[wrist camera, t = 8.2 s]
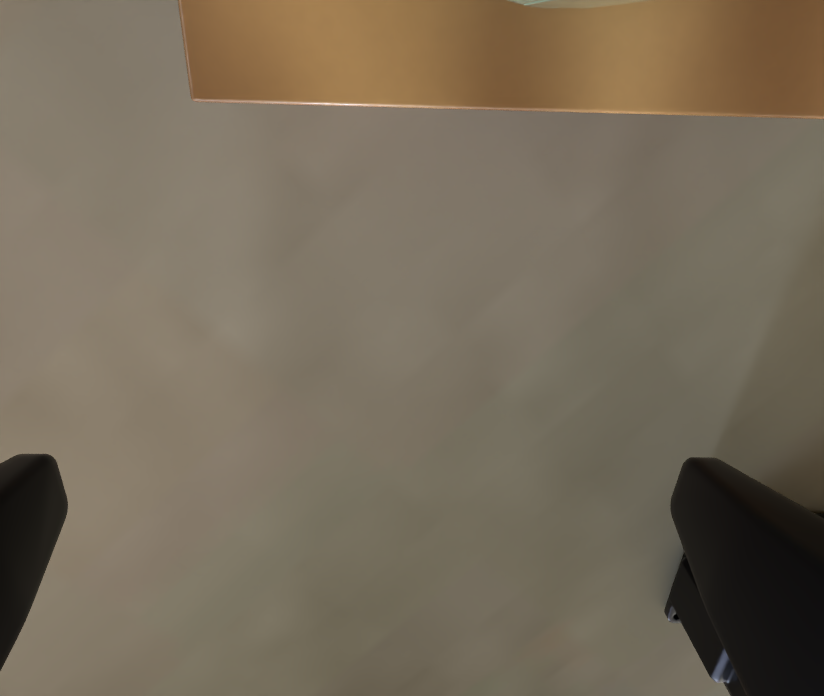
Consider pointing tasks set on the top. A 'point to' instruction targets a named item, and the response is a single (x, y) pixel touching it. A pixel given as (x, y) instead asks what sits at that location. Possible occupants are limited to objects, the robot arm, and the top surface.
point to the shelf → (512, 55)
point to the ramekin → (572, 3)
